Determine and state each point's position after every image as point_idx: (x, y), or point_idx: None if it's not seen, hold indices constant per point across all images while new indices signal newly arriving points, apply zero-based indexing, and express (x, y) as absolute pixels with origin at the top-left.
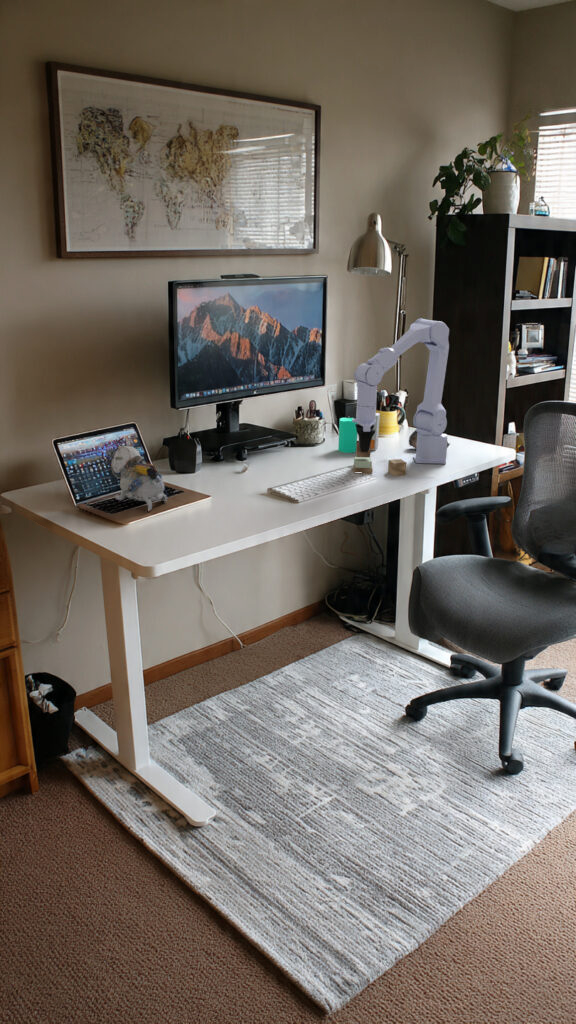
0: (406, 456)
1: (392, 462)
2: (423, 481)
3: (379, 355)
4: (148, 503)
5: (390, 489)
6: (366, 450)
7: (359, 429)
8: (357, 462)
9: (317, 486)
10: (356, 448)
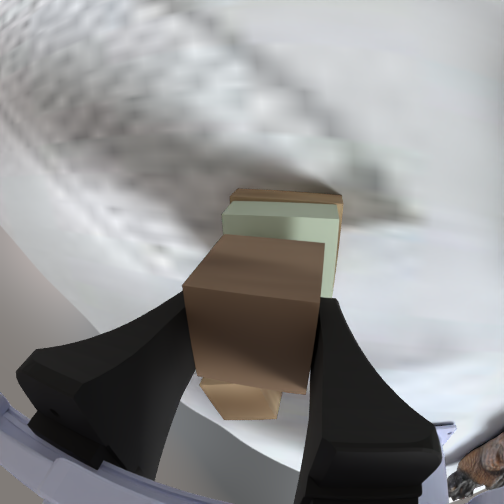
0: (470, 409)
1: (216, 383)
2: None
3: None
4: None
5: (71, 296)
6: None
7: (33, 393)
8: (224, 226)
9: (41, 50)
10: (298, 262)
